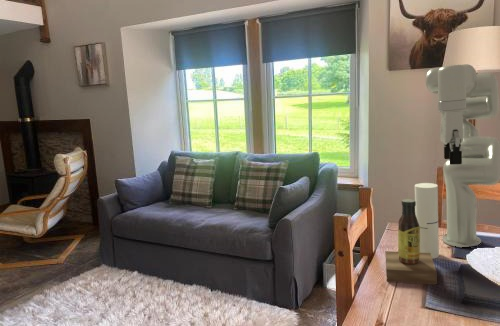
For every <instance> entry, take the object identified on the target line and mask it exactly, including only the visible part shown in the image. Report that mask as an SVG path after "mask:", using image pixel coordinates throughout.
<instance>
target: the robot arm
mask: <svg viewBox="0 0 500 326" xmlns="http://www.w3.org/2000/svg"><path fill="white" fill-rule="evenodd" d="M424 81H425V86H426V88H427V90H428V91H429V92H430V93H432V94H437V101H438V102H437V104H438V105H437V110H438V111H437V112H438V113H441V115H440V134H439V135H440V139H439V140H440V142H441V143H443V145H444V146H443V159H444V160H446V161H445V162H444V163H443V166H442V167H443V169H442V171H443V176H444V177H443V178H444V183H445V189H446V191H445V193H446V199H445V200H446V234H443V235H442V236H441V237H442V238H441V239H442V242H443V243H444V244H446V245H448V246H451V247H455V246H456V247H457V248H462V247H469V246H474V245H478V244H480V243H481V244H482V239H481V238H480V237H478V236H477V197H476V193H475V192H474V190H473V189H472V188H471V187H470V186H494V185H497V184H498V183H499V181H500V141H499V139H498V138H497V137H493V136H479V130H478V129H477V127H476V126H475V125H474V124H473V123H471V121H468V120H484V119H485V120H486V119H493V118H495V117H497V116H498V114H499V112H500V97H499V95H500V93H499V82H498V79H497V77H496V75H495V73H492V72H483V73H477V71H476V68H474V66H473V65H471V64H468V63H467V64H453V65H446V66H445V65H444V66H441V67H440V66H439V67H434V68H431V69H429V70H428V71H427V73H426V76H425V80H424ZM481 244H480V245H481Z"/></svg>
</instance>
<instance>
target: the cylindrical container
mask: <svg viewBox="0 0 500 326" xmlns="http://www.w3.org/2000/svg"><path fill="white" fill-rule="evenodd" d="M438 188H439V186H438V184H436V183H431V182H421V183H416V184H414V200H415V201H416V205H415V215H416V218H417V221H418V223H419V226H420V252H421V253H431V256H432V259H437V258H439V256H440V250H439V249H440V246H439V245H440V243H439V241H440V240H439V237H440V236H439V192H438V191H439V189H438Z"/></svg>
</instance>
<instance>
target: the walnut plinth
mask: <svg viewBox="0 0 500 326" xmlns="http://www.w3.org/2000/svg"><path fill="white" fill-rule="evenodd" d="M384 253H385V270H386V271H385V272H386V282H388V283H389V282H390V283H391V282H392V283H404V284H407V283H409V284H422V285H436V284H437V285H438V281H437V279H438V278H437V277H438V273H437V269H436V266H435V263H434V260H433V259H434V258H433V259H432V256H431V253H421V252H420V257H419V262H418V263H416V264H405V263H403V262H401V261H400V260H399V255H398V251H394V250H393V251H390V250H388V251H387V250H386V251H385V252H384Z"/></svg>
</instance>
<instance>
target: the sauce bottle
mask: <svg viewBox="0 0 500 326" xmlns="http://www.w3.org/2000/svg"><path fill="white" fill-rule="evenodd" d="M401 205H402V206H401V207H402V209H401V211H402V212H401V214H402V215H401V216H400V217H399V220H398V229H397V235H398V237H397V239H398V240H397V243H398V248H397V249H398V251H397V252H398V255H399V260H400V261H401V262H403V263H405V264H416V263H418V262H419V257H420V226H419V223H418V221H417V218H416V215H415V205H416V201H415V199H411V198H405V199H404V198H403V199H402V200H401Z"/></svg>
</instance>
